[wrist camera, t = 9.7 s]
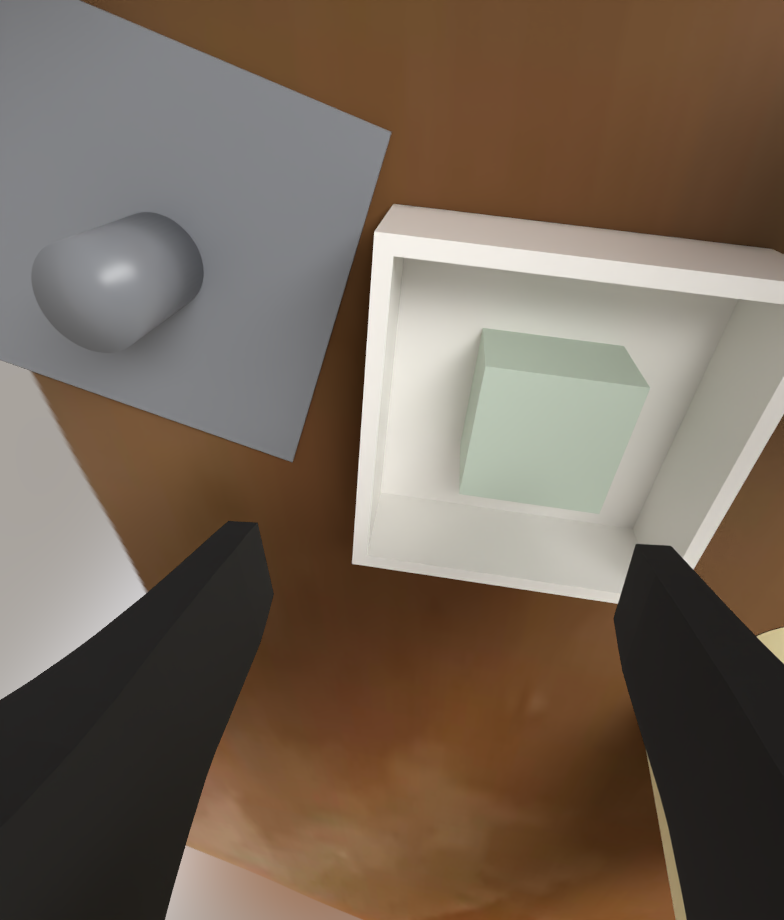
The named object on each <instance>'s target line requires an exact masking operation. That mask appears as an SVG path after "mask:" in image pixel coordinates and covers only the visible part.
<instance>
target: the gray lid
mask: <svg viewBox="0 0 784 920" xmlns="http://www.w3.org/2000/svg"><path fill="white" fill-rule="evenodd" d="M391 133H392V132H391V131H388V130H386V129H383V128H381V127H379V126H376V125H374V124H372V123H369V122H367V121H364V120H362V119H360V118H357V117H355V116H353V115H350V114H348V113H346V112H343V111H341V110H338V109H336V108H334V107H331V106H329V105H327V104H324V103H322V102H320V101H317V100H315V99H312V98H310V97H308V96H305V95H303V94H301V93H298V92H296V91H294V90H291V89H289V88H286V87H284V86H282V85H279V84H277V83H275V82H272V81H270V80H268V79H265V78H263V77H260V76H258V75H256V74H253V73H251V72H249V71H246V70H244V69H242V68H239V67H237V66H234V65H232V64H230V63H227V62H225V61H223V60H220V59H218V58H215V57H213V56H211V55H208V54H206V53H204V52H201V51H199V50H197V49H194V48H192V47H189V46H187V45H185V44H182V43H180V42H178V41H175V40H173V39H171V38H168V37H166V36H163V35H161V34H159V33H156V32H154V31H152V30H149V29H147V28H145V27H142V26H140V25H137V24H135V23H133V22H130V21H128V20H126V19H123V18H121V17H119V16H116V15H114V14H111V13H109V12H107V11H104V10H102V9H100V8H97V7H95V6H92V5H90V4H88V3H85V2H83V1H81V0H0V360H2V361H5V362H7V363H10V364H13V365H16V366H19V367H22V368H24V369H27V370H30V371H33V372H36V373H39V374H42V375H44V376H47V377H50V378H53V379H56V380H59V381H62V382H64V383H67V384H70V385H73V386H76V387H79V388H82V389H84V390H87V391H90V392H93V393H96V394H99V395H102V396H104V397H107V398H110V399H113V400H116V401H119V402H122V403H124V404H127V405H130V406H133V407H136V408H139V409H142V410H144V411H147V412H150V413H153V414H156V415H159V416H162V417H165V418H167V419H170V420H173V421H176V422H179V423H182V424H185V425H187V426H190V427H193V428H196V429H199V430H202V431H205V432H207V433H210V434H213V435H216V436H219V437H222V438H225V439H227V440H230V441H233V442H236V443H239V444H242V445H245V446H247V447H250V448H253V449H256V450H259V451H262V452H265V453H267V454H270V455H273V456H276V457H279V458H282V459H285V460H287V461H290V462H293V460H294V456H295V453H296V450H297V446H298V443H299V440H300V436H301V433H302V430H303V426H304V423H305V420H306V416H307V413H308V410H309V406H310V403H311V400H312V396H313V393H314V390H315V386H316V383H317V380H318V376H319V373H320V370H321V366H322V363H323V360H324V356H325V353H326V350H327V346H328V343H329V340H330V336H331V333H332V330H333V326H334V323H335V320H336V316H337V313H338V310H339V306H340V303H341V300H342V296H343V293H344V290H345V286H346V283H347V280H348V276H349V273H350V270H351V266H352V263H353V260H354V256H355V253H356V250H357V246H358V243H359V240H360V236H361V233H362V230H363V226H364V223H365V220H366V216H367V213H368V210H369V206H370V203H371V200H372V196H373V193H374V190H375V186H376V183H377V180H378V176H379V173H380V170H381V166H382V163H383V160H384V156H385V153H386V150H387V146H388V143H389V140H390V136H391Z"/></svg>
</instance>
